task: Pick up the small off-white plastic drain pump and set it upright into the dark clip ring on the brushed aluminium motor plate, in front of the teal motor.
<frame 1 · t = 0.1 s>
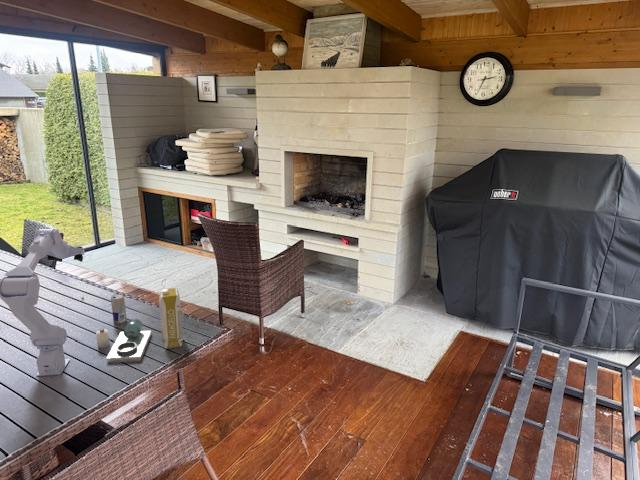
hand: (71, 259, 178), 32 cm above the table, tool tilted 50°, fingers open, 7 cm apart
juice carton: (173, 343, 181), on the table
energy drink: (120, 321, 196), on the table
motor mount: (127, 354, 172), on the table
drain pump: (103, 345, 177), on the table
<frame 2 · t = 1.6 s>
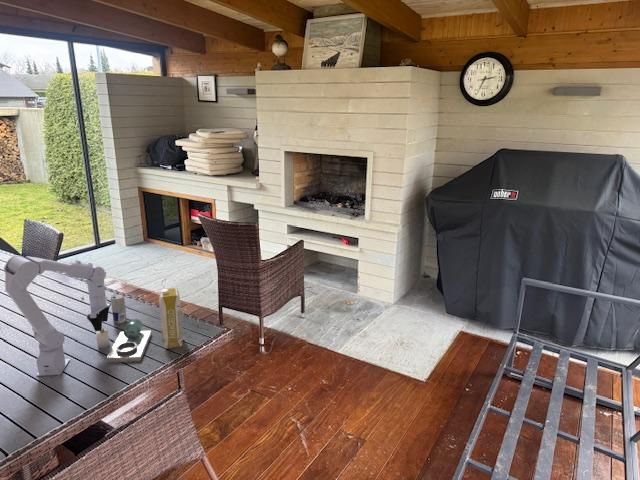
hand: (101, 325, 175), 9 cm above the table, tool pointing down, fingers open, 7 cm apart
nothing on the table moved.
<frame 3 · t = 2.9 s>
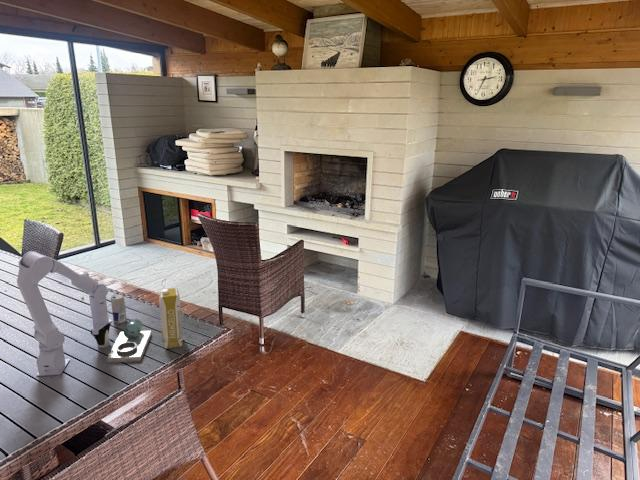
hand: (103, 341, 177), 2 cm above the table, tool pointing down, fingers closed on drain pump, 4 cm apart
drain pump: (103, 345, 177), on the table, touching gripper
everything else where it was.
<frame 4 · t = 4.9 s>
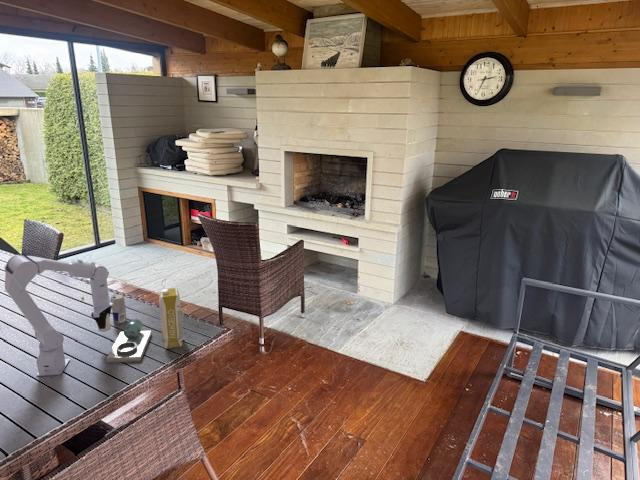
hand: (104, 325, 174), 9 cm above the table, tool pointing down, fingers closed on drain pump, 4 cm apart
drain pump: (104, 328, 174), point 8 cm above the table, touching gripper
everything else where it was.
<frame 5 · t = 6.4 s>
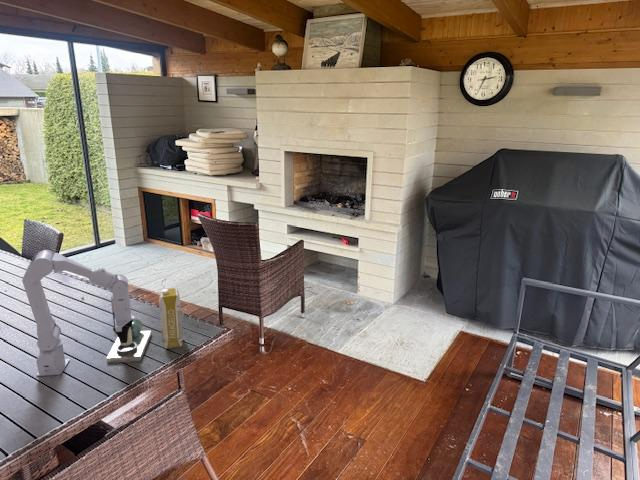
hand: (125, 339, 169), 7 cm above the table, tool pointing down, fingers closed on drain pump, 4 cm apart
drain pump: (126, 342, 170), point 5 cm above the table, touching gripper
everything else where it was.
when the fingers open (5 cm above the table, at t = 7.3 s): drain pump stays where it is, resting on motor mount.
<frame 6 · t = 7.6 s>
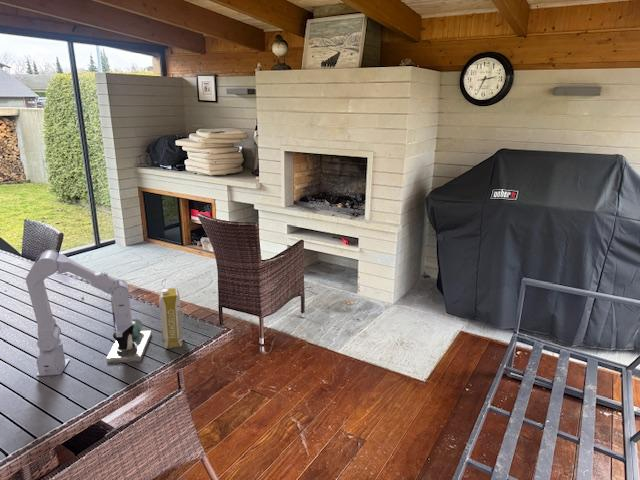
hand: (126, 344, 170), 5 cm above the table, tool pointing down, fingers open, 6 cm apart
drain pump: (126, 350, 171), point 2 cm above the table, touching motor mount
everything else where it was.
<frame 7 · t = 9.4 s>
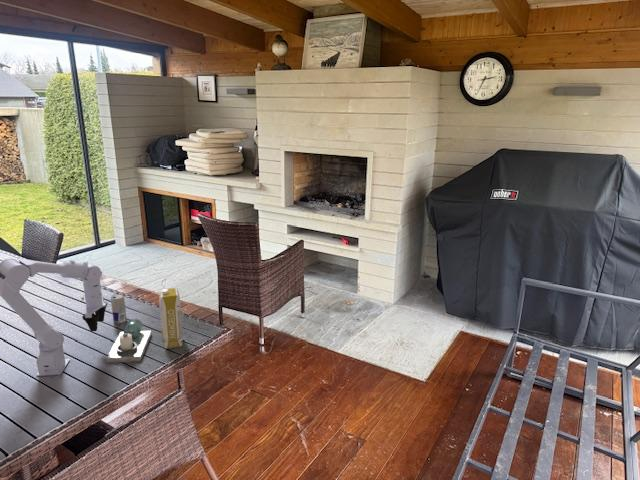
hand: (97, 325, 172), 10 cm above the table, tool pointing down, fingers open, 7 cm apart
nothing on the table moved.
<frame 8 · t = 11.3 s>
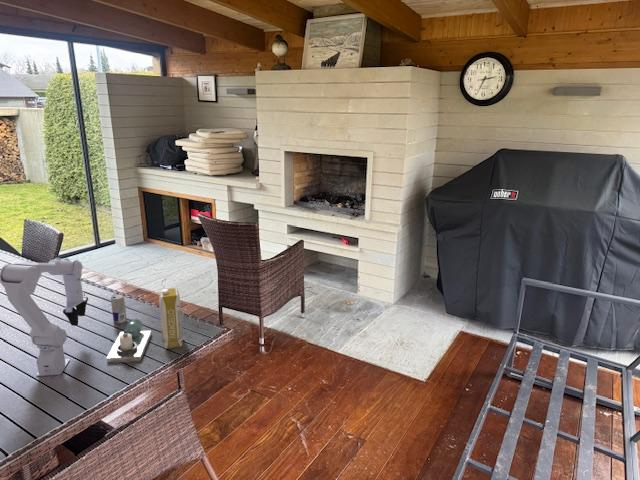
hand: (78, 320, 175), 10 cm above the table, tool pointing down, fingers open, 7 cm apart
nothing on the table moved.
at the end: drain pump 0.0 cm off-centre on the motor mount, point 2.0 cm above the motor mount's base; drain pump tilted 0°; the gripper is holding nothing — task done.
